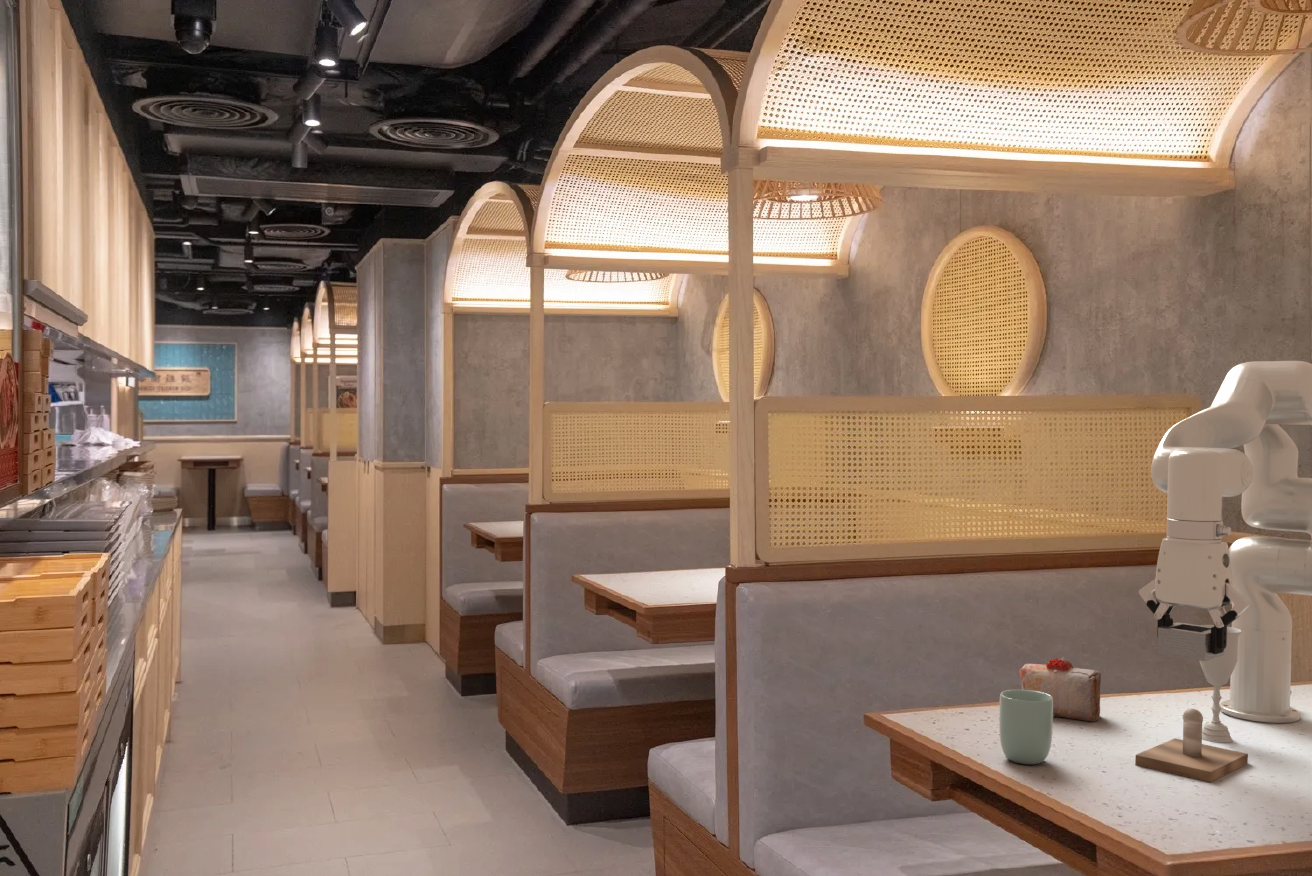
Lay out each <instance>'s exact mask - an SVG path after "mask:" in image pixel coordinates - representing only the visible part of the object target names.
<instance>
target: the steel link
mask: <svg viewBox="0 0 1312 876" xmlns="http://www.w3.org/2000/svg"><path fill="white" fill-rule="evenodd" d="M1201 625H1202V624H1199V625H1198V624H1195V623H1185V622H1180V621H1178V622H1175V623H1174V622H1173V624H1170V625H1167V626H1162V627H1158V626H1157V627H1158V637H1157V654H1158V655H1163V656H1164V655H1165V656H1170V657H1175V658H1180V659H1181V658H1182V659H1189V660H1193V661H1194V660H1195V661H1199V662H1200V661H1208V660H1211V659H1214V658H1217V657H1220V656H1223V655H1224V651H1223V652H1222V653H1219V654H1212V653H1211V628H1212V627H1208V626H1201Z"/></svg>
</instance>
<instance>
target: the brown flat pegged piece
mask: <svg viewBox="0 0 1312 876" xmlns="http://www.w3.org/2000/svg"><path fill="white" fill-rule="evenodd" d="M1182 720H1183V723H1182V725H1183V727H1182V728H1183V729H1182V739H1181V738H1177V737H1176V738H1172V739H1169V740H1167V741H1165V742H1162V743H1161V744H1158V745H1156V746H1153V747H1152V748H1149V749H1146V750H1144V751H1142V752H1140V753H1137V754H1135V760H1134V761H1135V766H1139V767H1143V768H1147V769H1152V770H1156V771H1161V772H1164V773H1165V772H1166V773H1169V774H1174V775H1177V776H1182V777H1186V778H1192V779H1194V780H1200V781H1203V782H1209V783H1212V782H1214V781H1216V780H1218V779H1220V778H1222V777H1224V776H1226V775H1228V774H1229V773H1231V772H1233V771H1234V772H1235V771H1236V770H1237V769H1240V768H1241V767H1244V766H1245V765H1248V764H1249V763H1248V762H1249V753H1246V752H1242V751H1236V750H1231V749H1228V748H1223V747H1218V746H1213V745H1210V744H1209V745H1208V744H1204V743H1203V739H1202V729H1203V721H1204V716H1203V714H1202V713H1201V711H1200V710H1198V709H1196V708H1188V709H1186V710H1185V711H1184V712H1183V714H1182Z"/></svg>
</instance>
